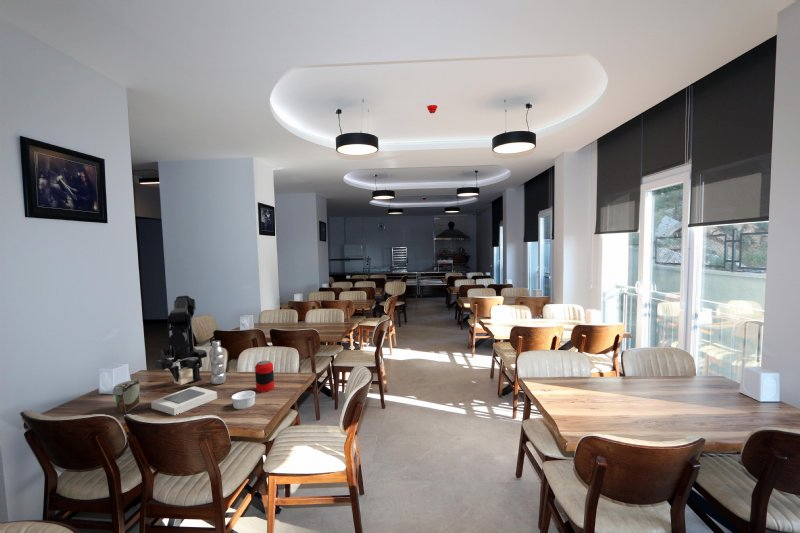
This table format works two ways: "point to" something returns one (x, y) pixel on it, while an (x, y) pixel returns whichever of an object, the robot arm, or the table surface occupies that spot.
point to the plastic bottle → (217, 363)
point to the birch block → (184, 376)
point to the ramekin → (243, 399)
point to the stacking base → (183, 400)
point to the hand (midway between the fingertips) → (183, 379)
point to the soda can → (264, 376)
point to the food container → (127, 395)
